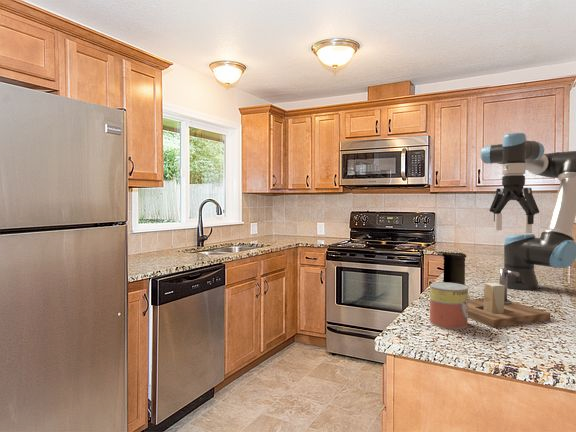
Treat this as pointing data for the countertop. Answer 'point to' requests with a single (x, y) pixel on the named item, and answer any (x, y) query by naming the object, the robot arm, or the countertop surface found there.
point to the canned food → (449, 305)
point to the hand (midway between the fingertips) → (512, 231)
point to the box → (494, 298)
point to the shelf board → (505, 314)
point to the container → (454, 268)
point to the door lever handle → (503, 281)
